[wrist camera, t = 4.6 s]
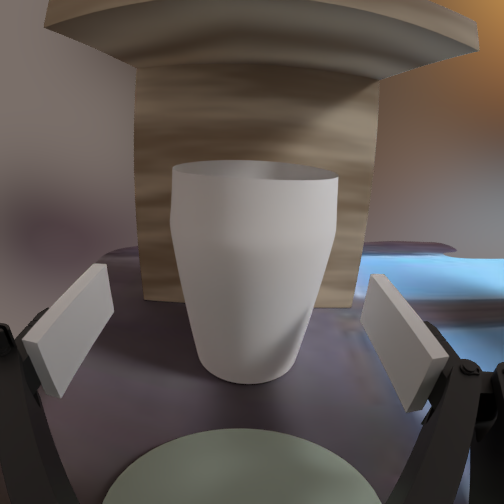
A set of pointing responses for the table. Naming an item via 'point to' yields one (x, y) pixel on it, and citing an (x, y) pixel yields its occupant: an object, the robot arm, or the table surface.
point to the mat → (240, 472)
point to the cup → (251, 259)
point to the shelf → (260, 98)
